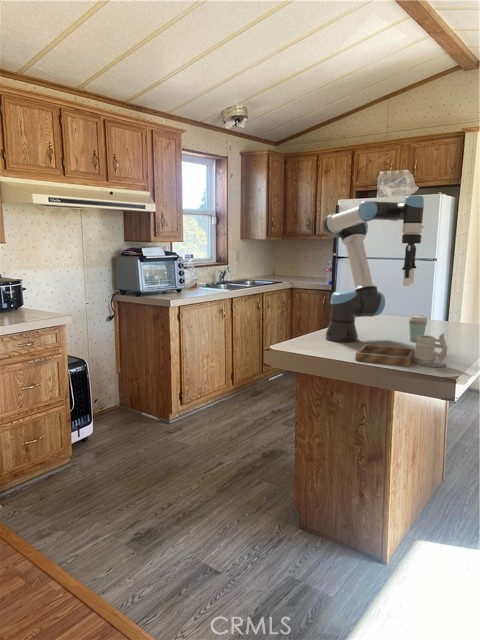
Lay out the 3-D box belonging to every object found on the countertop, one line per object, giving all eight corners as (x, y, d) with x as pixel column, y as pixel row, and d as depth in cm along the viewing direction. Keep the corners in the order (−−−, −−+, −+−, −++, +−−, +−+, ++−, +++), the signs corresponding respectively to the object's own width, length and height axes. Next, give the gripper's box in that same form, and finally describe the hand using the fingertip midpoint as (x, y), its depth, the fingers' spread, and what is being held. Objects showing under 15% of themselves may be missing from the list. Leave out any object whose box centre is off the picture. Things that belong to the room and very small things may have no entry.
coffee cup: (427, 343, 224) (429, 318, 222) (408, 342, 226) (410, 317, 224) (424, 339, 233) (426, 315, 231) (405, 338, 234) (407, 314, 232)
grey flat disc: (413, 365, 184) (413, 363, 183) (416, 359, 193) (416, 357, 193) (444, 368, 179) (445, 367, 179) (446, 362, 189) (446, 360, 189)
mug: (416, 358, 192) (418, 328, 190) (447, 362, 186) (450, 332, 184) (411, 362, 186) (413, 331, 184) (444, 366, 180) (446, 335, 178)
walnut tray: (355, 360, 190) (355, 352, 190) (364, 351, 207) (364, 344, 206) (409, 366, 182) (410, 358, 181) (414, 356, 198) (414, 349, 198)
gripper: (418, 233, 187) (414, 287, 191) (423, 234, 210) (420, 283, 213) (398, 233, 190) (395, 286, 194) (405, 234, 213) (402, 282, 216)
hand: (408, 284), depth 204 cm, fingers open, 13 cm apart
